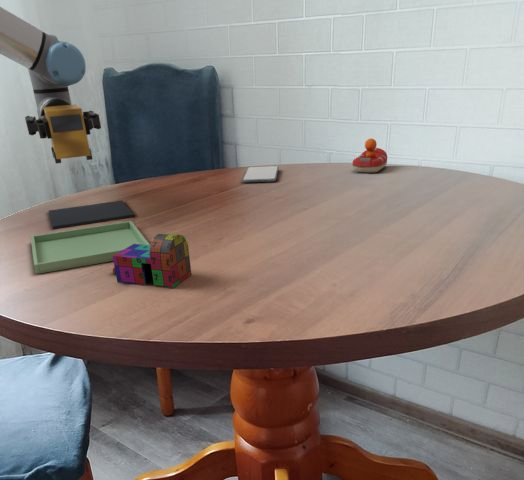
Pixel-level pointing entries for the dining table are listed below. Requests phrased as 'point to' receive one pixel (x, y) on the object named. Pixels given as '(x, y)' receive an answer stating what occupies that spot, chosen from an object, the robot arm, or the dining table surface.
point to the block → (154, 261)
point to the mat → (89, 214)
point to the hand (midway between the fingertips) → (67, 128)
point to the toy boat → (370, 158)
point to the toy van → (67, 132)
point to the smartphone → (261, 174)
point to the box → (83, 246)
